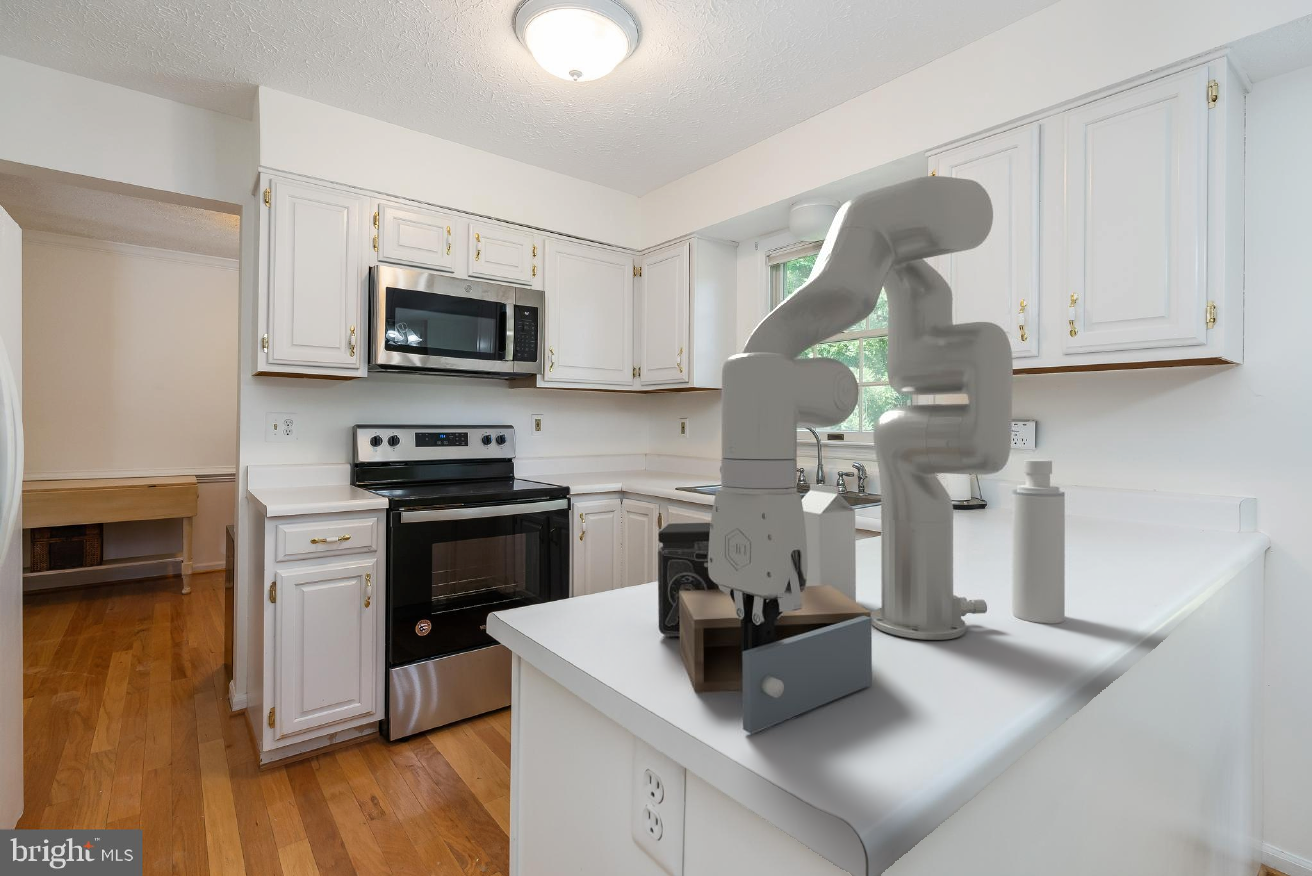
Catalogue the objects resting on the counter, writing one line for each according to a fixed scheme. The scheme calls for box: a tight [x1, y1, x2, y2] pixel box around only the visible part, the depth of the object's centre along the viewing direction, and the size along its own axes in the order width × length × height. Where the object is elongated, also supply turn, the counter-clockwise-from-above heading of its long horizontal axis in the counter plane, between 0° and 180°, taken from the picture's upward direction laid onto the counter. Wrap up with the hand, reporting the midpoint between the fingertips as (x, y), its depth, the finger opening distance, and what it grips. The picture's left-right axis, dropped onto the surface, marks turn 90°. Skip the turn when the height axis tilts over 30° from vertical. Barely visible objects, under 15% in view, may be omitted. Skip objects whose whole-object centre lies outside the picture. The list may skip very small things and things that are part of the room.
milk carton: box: [801, 483, 857, 603], centre depth 104 cm, size 7×7×19 cm
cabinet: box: [679, 585, 871, 693], centre depth 76 cm, size 20×12×8 cm, turn 96°
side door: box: [742, 616, 873, 734], centre depth 64 cm, size 18×2×7 cm, turn 126°
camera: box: [657, 522, 719, 638], centre depth 89 cm, size 10×10×15 cm
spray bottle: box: [1011, 459, 1066, 625], centre depth 94 cm, size 7×7×25 cm
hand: (757, 658), depth 64 cm, fingers closed
